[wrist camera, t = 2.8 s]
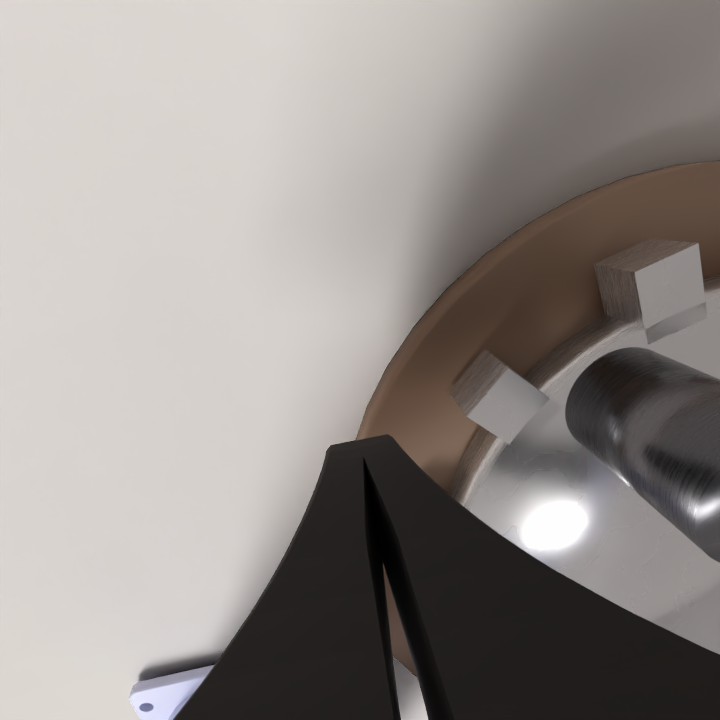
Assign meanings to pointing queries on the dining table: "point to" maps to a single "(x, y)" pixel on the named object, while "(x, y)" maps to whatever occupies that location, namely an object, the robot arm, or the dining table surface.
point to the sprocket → (614, 444)
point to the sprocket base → (528, 311)
